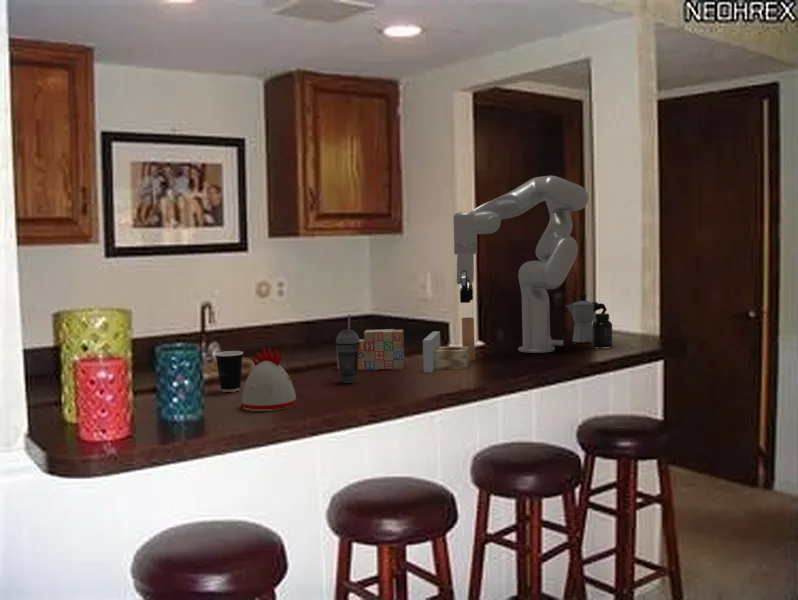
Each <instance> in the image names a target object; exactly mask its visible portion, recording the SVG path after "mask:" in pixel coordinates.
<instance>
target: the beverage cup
mask: <svg viewBox="0 0 798 600" xmlns="http://www.w3.org/2000/svg"><path fill="white" fill-rule="evenodd" d="M347 315H348V317H347V318H348V319H347V320H348V321H347V329H343V330H341V331H340V332H339V333H338V334H337V335H336V339H335V343H334V345H335V349H337V351H336V353H337V352H338V360H339V368H340V370H339V375H340V379H341V383H342V382H343V383H352V384H355V383H354V382H356V383H358V374H359V373H358V371H359V370H358V353H359V346H360V341H359V339H360V337H359V335H358V334H357V332H355V331H354V330H352V329H350V328H351V314H347ZM343 383H342V384H343Z"/></svg>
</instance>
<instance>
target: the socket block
mask: <svg viewBox="0 0 798 600" xmlns="http://www.w3.org/2000/svg"><path fill="white" fill-rule="evenodd" d="M469 366H470V361H469V346H463V347H462V346H440V347H437V348H436V349H435V350H434V370H433V371H435V370H436V371H437V370H439V371H440V370H441V371H442V370H446V371H447V370H448V371H449V370H450V371H451V370H467V369H468V368H469Z"/></svg>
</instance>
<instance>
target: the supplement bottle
mask: <svg viewBox="0 0 798 600" xmlns="http://www.w3.org/2000/svg"><path fill="white" fill-rule="evenodd" d="M592 334H593V343H592V348H593V347H599V348H601V347H602V348H603V347H612V348H613V322H611V321H610V313H606V312H605V313H602V312H600V313H599V312H598V313H594V321H592Z"/></svg>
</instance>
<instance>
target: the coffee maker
mask: <svg viewBox="0 0 798 600" xmlns="http://www.w3.org/2000/svg"><path fill="white" fill-rule="evenodd" d="M586 297H587V294H579V298H580V300H579V301H576V302H573V303H571V304H567V305H565V307H566V308H567V309H568V311H569V312H570V314H571V316H572V321H573V322H574V326H573V334H572V341H573V342H585V341H592V340H593V334H592V324H593V322H594V318H595V312H596V311H599V310H602V311H601V313H606V312H607V307H606V305H605V304H604V303H599V302H597V301H592V302H591V301H588V300H586Z"/></svg>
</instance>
